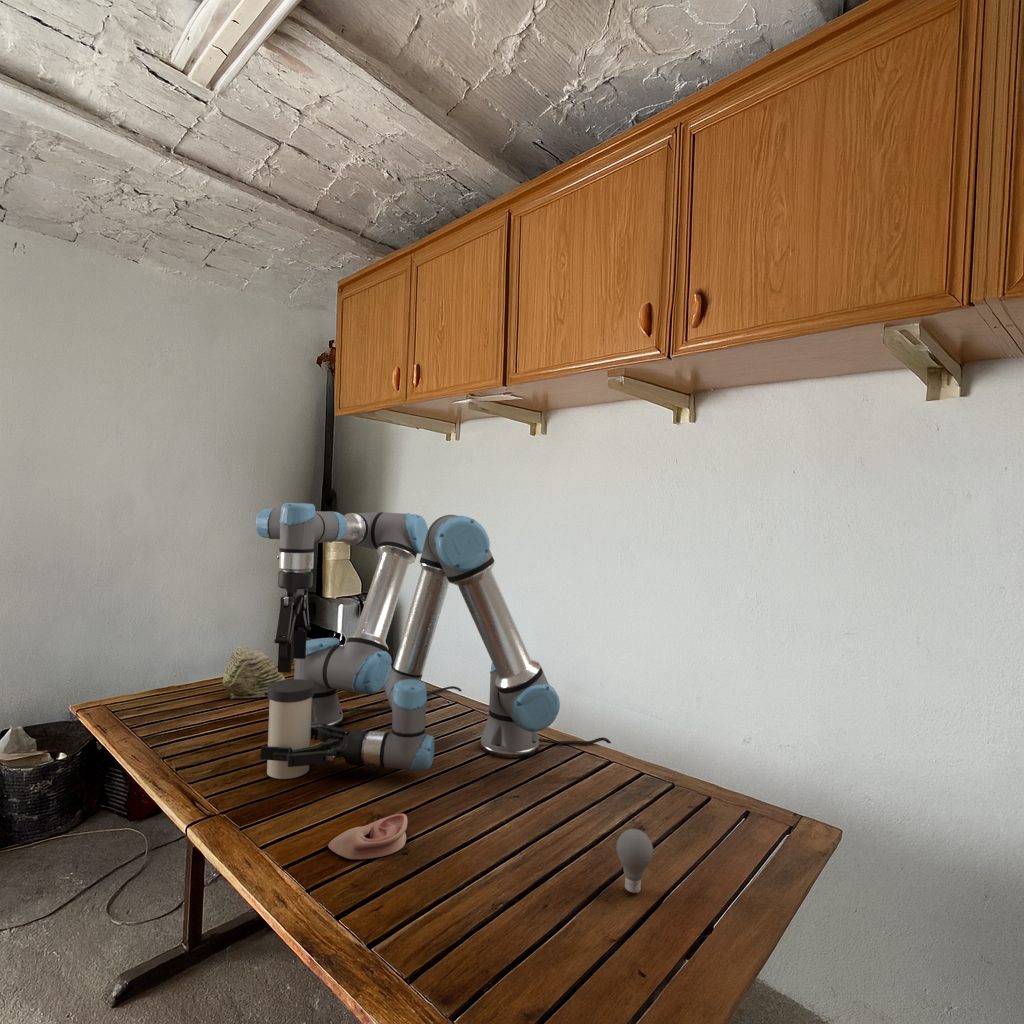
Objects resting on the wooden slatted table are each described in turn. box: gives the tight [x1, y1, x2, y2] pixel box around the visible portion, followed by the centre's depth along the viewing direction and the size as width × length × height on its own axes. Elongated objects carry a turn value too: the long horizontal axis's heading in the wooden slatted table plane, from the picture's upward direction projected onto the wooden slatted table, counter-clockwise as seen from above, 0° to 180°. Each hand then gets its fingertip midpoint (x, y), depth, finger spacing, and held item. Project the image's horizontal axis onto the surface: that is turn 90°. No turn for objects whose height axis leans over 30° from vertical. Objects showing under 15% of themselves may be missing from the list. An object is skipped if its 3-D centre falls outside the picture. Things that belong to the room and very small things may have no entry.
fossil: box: [222, 646, 286, 699], centre depth 198 cm, size 9×18×15 cm, turn 132°
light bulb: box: [615, 828, 654, 894], centre depth 106 cm, size 6×6×10 cm
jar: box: [266, 697, 312, 780], centre depth 146 cm, size 9×9×19 cm
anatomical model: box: [327, 813, 408, 861], centre depth 116 cm, size 13×4×12 cm
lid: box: [267, 678, 314, 702], centre depth 146 cm, size 10×10×2 cm
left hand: (292, 665), depth 145 cm, fingers open, 11 cm apart
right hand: (274, 741), depth 146 cm, fingers open, 12 cm apart
